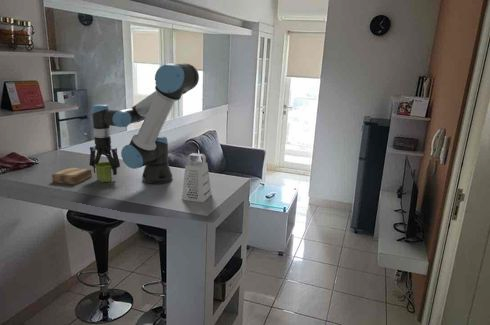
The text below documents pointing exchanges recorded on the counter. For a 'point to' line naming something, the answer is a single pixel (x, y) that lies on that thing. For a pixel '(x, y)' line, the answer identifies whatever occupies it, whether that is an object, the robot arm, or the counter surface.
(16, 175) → the counter surface
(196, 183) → the grater
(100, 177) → the plant pot
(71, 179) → the tan flat square block
